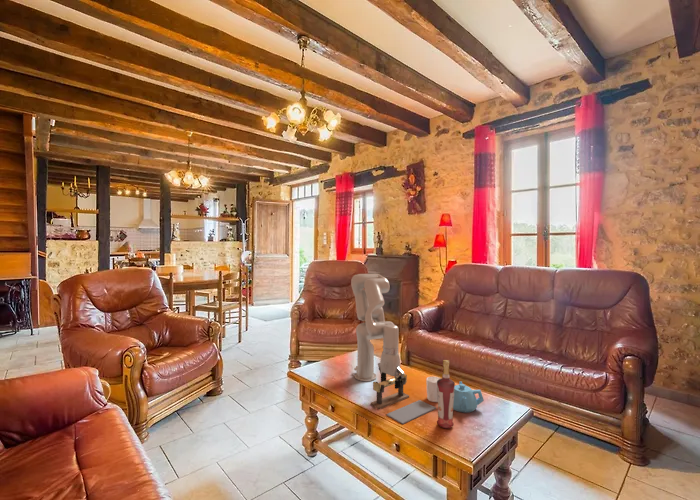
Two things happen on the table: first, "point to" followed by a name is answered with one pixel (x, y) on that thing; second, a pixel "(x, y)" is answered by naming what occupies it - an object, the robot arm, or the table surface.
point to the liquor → (445, 398)
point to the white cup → (432, 388)
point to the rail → (385, 383)
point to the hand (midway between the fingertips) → (390, 384)
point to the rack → (389, 397)
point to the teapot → (466, 398)
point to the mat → (411, 411)
